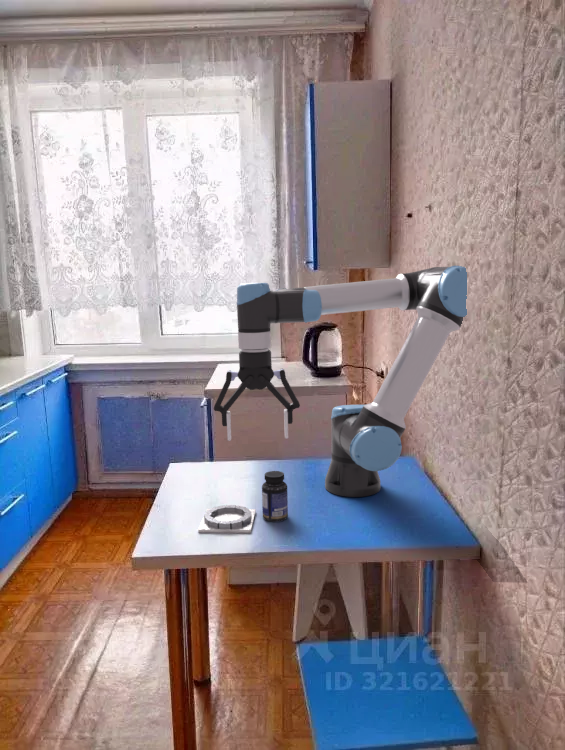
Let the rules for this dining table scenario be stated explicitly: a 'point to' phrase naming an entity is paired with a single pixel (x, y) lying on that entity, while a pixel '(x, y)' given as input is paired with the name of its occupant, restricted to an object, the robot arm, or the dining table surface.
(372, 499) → the dining table surface
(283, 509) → the pill bottle
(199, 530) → the hub plate
